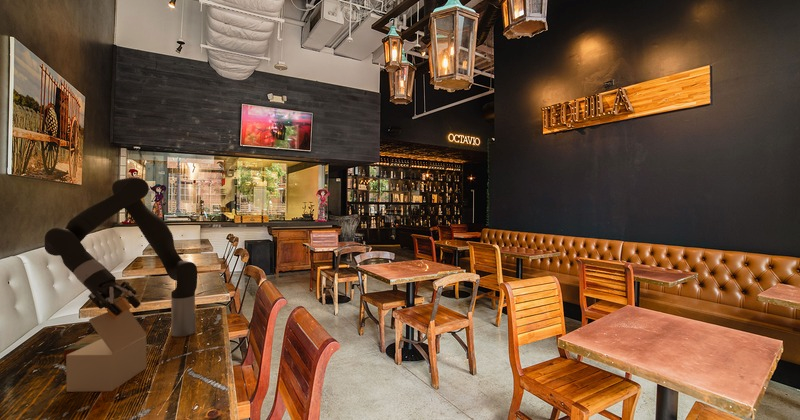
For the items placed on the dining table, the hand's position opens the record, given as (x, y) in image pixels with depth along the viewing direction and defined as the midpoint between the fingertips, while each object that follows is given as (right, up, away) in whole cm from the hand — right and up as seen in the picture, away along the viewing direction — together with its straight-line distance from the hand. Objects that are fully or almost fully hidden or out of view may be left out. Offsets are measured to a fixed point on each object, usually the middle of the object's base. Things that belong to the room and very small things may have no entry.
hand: (129, 309), depth 121 cm
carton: (-35, -24, +24) cm, 48 cm away
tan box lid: (-4, -6, 0) cm, 7 cm away
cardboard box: (-7, -24, 0) cm, 25 cm away
